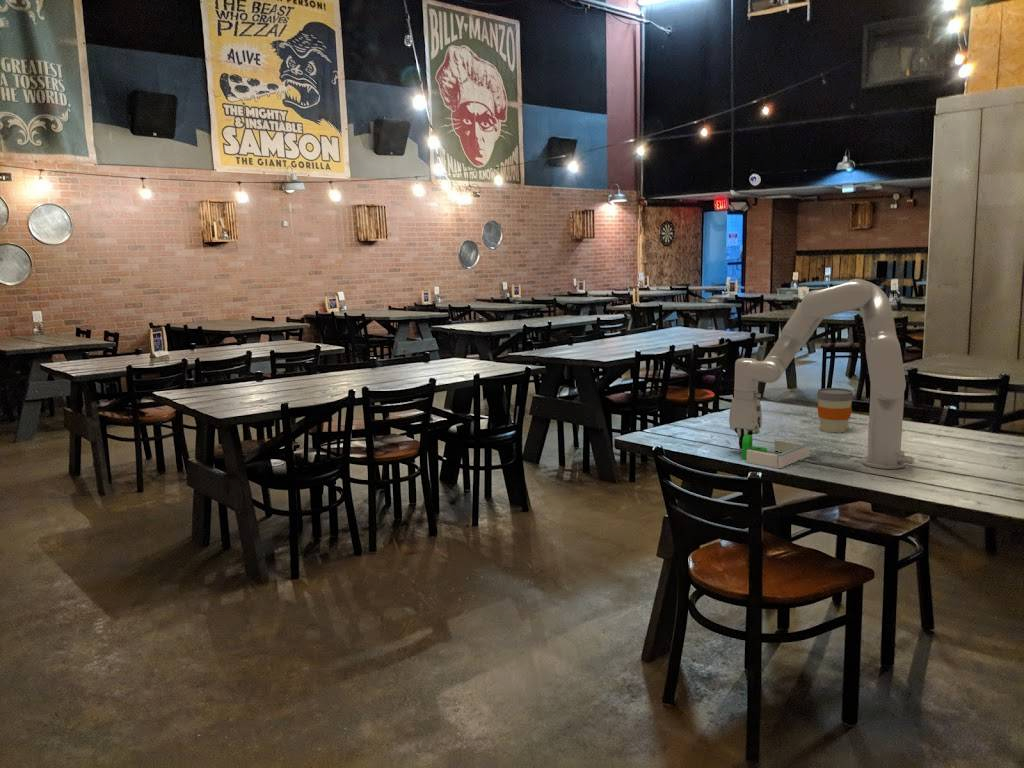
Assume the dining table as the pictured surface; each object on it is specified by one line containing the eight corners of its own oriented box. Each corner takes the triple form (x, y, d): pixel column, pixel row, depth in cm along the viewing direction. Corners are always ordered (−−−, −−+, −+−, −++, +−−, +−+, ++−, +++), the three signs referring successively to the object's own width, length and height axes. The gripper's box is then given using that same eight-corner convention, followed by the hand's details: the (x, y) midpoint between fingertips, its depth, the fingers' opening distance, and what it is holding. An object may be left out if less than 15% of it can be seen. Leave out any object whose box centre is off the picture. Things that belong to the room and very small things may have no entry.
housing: (809, 456, 260) (809, 443, 259) (780, 468, 247) (780, 455, 246) (776, 450, 269) (776, 438, 268) (746, 462, 255) (746, 449, 255)
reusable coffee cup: (857, 433, 289) (859, 393, 287) (822, 434, 290) (824, 394, 287) (843, 426, 302) (845, 387, 299) (810, 426, 302) (812, 388, 300)
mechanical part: (760, 462, 256) (761, 438, 255) (741, 460, 259) (742, 436, 258) (768, 453, 266) (769, 430, 265) (750, 451, 269) (751, 428, 268)
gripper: (772, 396, 260) (769, 450, 264) (732, 391, 271) (730, 442, 274) (760, 399, 255) (758, 454, 258) (720, 394, 266) (718, 446, 269)
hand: (743, 448), depth 266 cm, fingers closed
